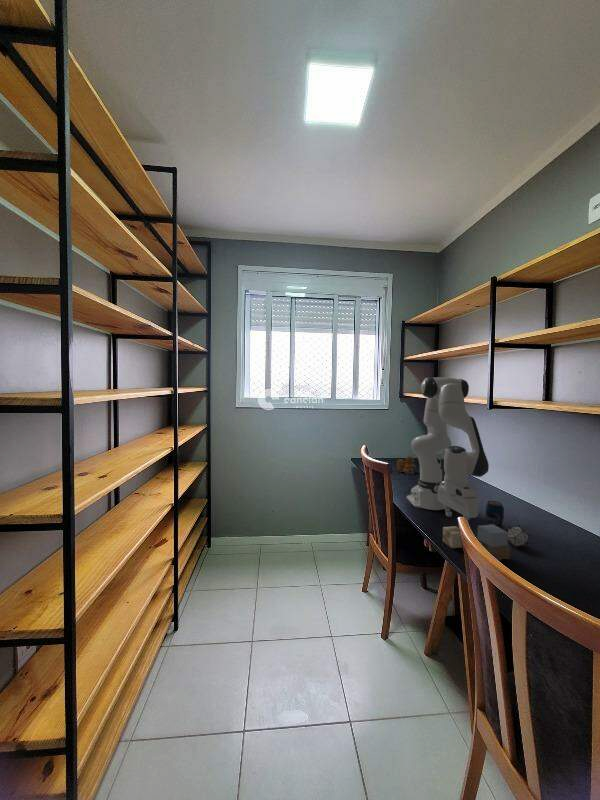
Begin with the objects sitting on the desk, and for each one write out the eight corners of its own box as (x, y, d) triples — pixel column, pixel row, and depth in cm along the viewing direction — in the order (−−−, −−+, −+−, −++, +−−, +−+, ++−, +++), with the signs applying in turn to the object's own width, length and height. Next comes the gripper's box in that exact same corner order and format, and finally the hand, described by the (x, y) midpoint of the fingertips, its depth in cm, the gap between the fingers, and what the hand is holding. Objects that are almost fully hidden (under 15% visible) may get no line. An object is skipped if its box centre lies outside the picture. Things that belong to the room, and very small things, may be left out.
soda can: (483, 529, 142) (484, 503, 142) (487, 524, 147) (488, 499, 146) (501, 534, 137) (501, 507, 137) (504, 528, 142) (505, 502, 142)
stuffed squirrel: (414, 475, 229) (415, 457, 228) (395, 473, 235) (395, 456, 234) (416, 472, 238) (416, 455, 237) (397, 470, 244) (397, 453, 243)
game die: (512, 555, 127) (495, 534, 128) (516, 541, 132) (500, 521, 133) (534, 553, 120) (517, 531, 121) (538, 538, 125) (521, 517, 127)
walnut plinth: (475, 550, 123) (475, 537, 123) (492, 548, 125) (493, 536, 125) (490, 561, 116) (491, 548, 115) (509, 559, 117) (509, 546, 117)
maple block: (442, 541, 131) (442, 527, 131) (455, 540, 132) (455, 526, 132) (452, 548, 125) (452, 533, 125) (465, 547, 126) (465, 532, 126)
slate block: (477, 538, 123) (477, 525, 123) (493, 536, 124) (493, 524, 124) (491, 547, 116) (491, 533, 116) (507, 545, 117) (507, 532, 117)
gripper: (433, 480, 137) (433, 511, 137) (466, 494, 117) (467, 531, 117) (446, 479, 138) (446, 510, 138) (481, 493, 118) (481, 529, 118)
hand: (456, 520), depth 128 cm, fingers open, 8 cm apart
